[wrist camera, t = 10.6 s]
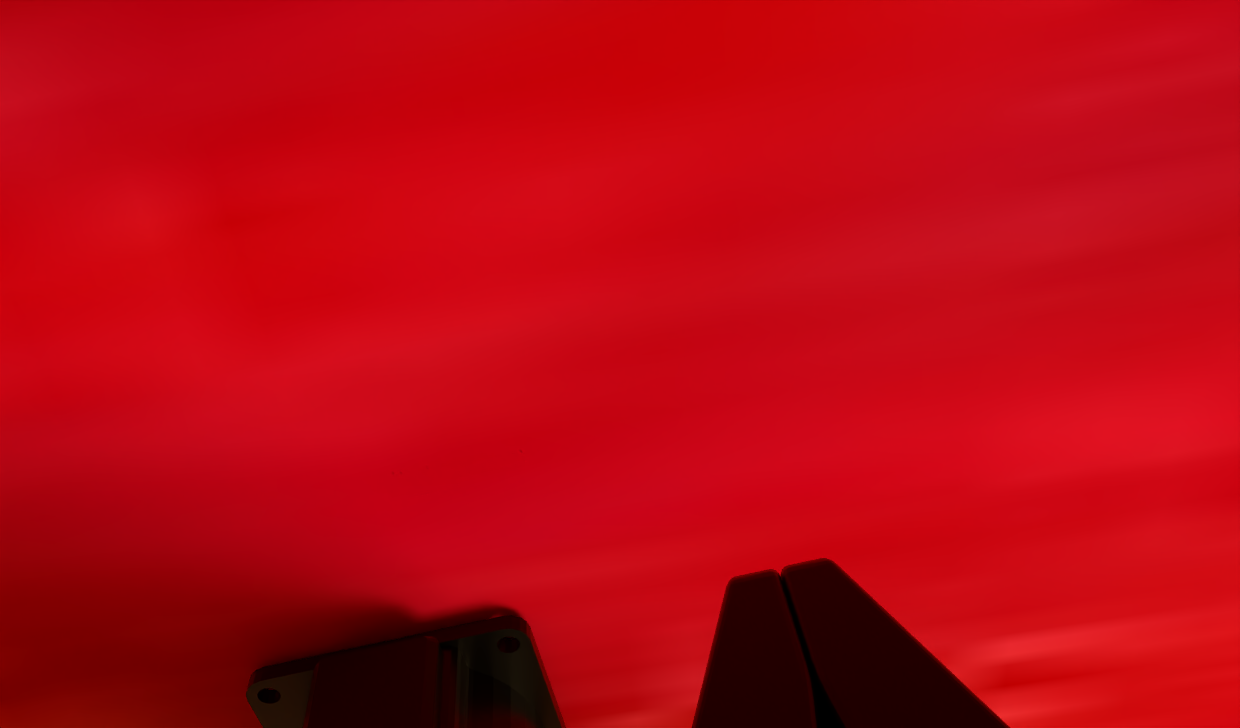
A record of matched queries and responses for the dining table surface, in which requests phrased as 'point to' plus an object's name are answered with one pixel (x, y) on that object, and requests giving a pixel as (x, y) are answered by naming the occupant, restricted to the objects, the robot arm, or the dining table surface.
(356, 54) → the dining table surface
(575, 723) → the dining table surface
